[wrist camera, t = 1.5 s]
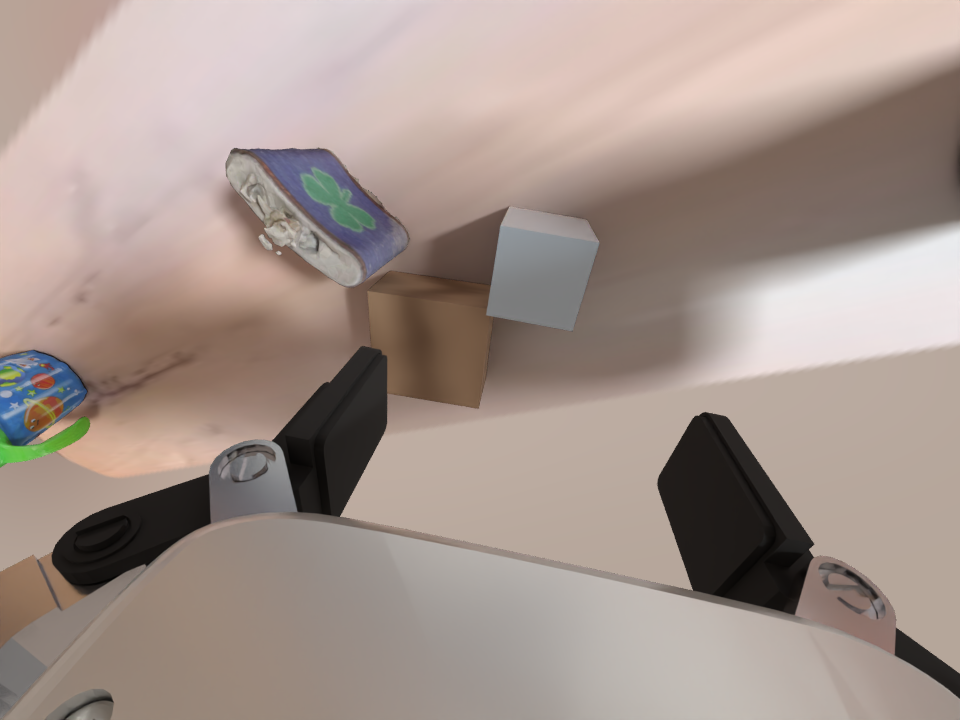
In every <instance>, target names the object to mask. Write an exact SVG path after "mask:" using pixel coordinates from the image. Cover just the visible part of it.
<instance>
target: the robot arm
mask: <svg viewBox="0 0 960 720" xmlns="http://www.w3.org/2000/svg"><path fill="white" fill-rule="evenodd" d="M386 425H387V356H386V355H382V351H381V350H380V349H375V348H370V347H365V346H362V347H360V348H359V350H358V351H357V352H356V353H355V354H354V355H353V357H352V358H351V359H350V360H349V361H348V362H347V364H346V365H345V366H344V367H343V368H342V369H341V371H340V372H339V373H338V374H337V375H336V376H335V377H334V379H333V380H332V381H331V382H330V383H329V382H326V383H324V384H323V385H321V386H320V388H319V389H318V390H317V391H316V392H315V393H314V394H313V395H312V397H311V398H310V399H309V400H308V401H307V402H306V403H305V404H304V406H303V407H302V408H301V409H300V410H299V411H298V412H297V413H296V415H295V416H294V417H293V418H292V419H291V420H290V421H289V422H288V424H287V425H286V426H285V427H284V428H283V429H282V430H281V431H280V433H279V434H278V435H277V436H276V437H275V438H274V439H273V441H272V442H271V441H268V440H250V441H244V442H241V443H239V444H236V445H233V446H231V447H230V448H228V449H226V450H224V451H223V452H222V453H221V454H220V455H218V456H217V457H216V458H215V460H214V461H213V463H212V464H211V466H210V471H209V474H208V475H205V476H202V477H199V478H196V479H193V480H190V481H187V482H184V483H181V484H178V485H175V486H172V487H169V488H166V489H163V490H160V491H157V492H154V493H151V494H148V495H145V496H142V497H139V498H136V499H133V500H130V501H127V502H124V503H121V504H118V505H115V506H112V507H109V508H106V509H104V510H101V511H99V512H97V513H94V514H92V515H90V516H89V517H87V518H85V519H83V520H82V521H80V522H78V523H77V524H76V525H74V526H73V527H72V528H71V529H70V530H69V531H67V532H66V533H65V534H64V535H63V536H62V538H61V539H60V540H59V541H58V542H57V544H56V545H55V548H54V550H53V552H51V553H49V554H47V555H45V556H44V557H42V558H40V559H37V558H36V557H35V556H34V555H32V556H30V557H28V558H26V559H24V560H22V561H20V562H18V563H17V564H14V565H12V566H10V567H8V568H6V569H5V570H3V571H1V572H0V720H960V674H959V673H958V672H957V671H955V670H954V669H952V668H951V667H950V666H948V665H947V664H946V663H944V662H943V661H942V660H940V659H938V658H937V657H936V656H935V655H933V654H932V653H930V652H929V651H928V650H926V649H925V648H924V647H922V646H921V645H919V644H918V643H917V642H915V641H914V640H912V639H911V638H910V637H908V636H907V635H905V634H904V633H903V632H902V631H900V630H899V629H897V628H896V616H895V612H894V609H893V607H892V605H891V604H890V602H889V600H888V599H887V598H886V596H885V595H884V594H883V593H882V591H881V590H880V589H879V588H878V587H877V586H876V585H875V584H874V583H873V582H872V581H871V580H869V579H868V578H867V577H866V576H865V575H863V574H862V573H860V572H859V571H858V570H856V569H855V568H853V567H852V566H850V565H848V564H846V563H844V562H842V561H840V560H838V559H835V558H832V557H828V556H817V557H813V555H812V554H811V552H810V551H809V549H810V548H811V547H812V546H813V545H814V543H813V541H812V540H811V539H810V537H809V536H808V534H807V533H806V531H805V530H804V528H803V527H802V525H801V524H800V522H799V521H798V520H797V518H796V517H795V515H794V514H793V512H792V511H791V509H790V508H789V506H788V505H787V503H786V502H785V501H784V499H783V498H782V496H781V495H780V493H779V492H778V490H777V489H776V488H775V486H774V484H773V483H772V481H771V480H770V479H769V477H768V476H767V474H766V473H765V471H764V470H763V469H762V467H761V465H760V464H759V462H758V461H757V459H756V458H755V457H754V455H753V454H752V452H751V451H750V449H749V448H748V447H747V445H746V444H745V442H744V441H743V439H742V438H741V436H740V435H739V433H738V432H737V430H736V429H735V427H734V426H733V424H732V423H731V422H730V420H729V419H728V418H727V417H726V416H721V415H717V414H712V413H707V412H704V413H702V414H700V415H699V416H695V417H694V418H693V419H692V421H691V422H690V424H689V426H688V427H687V429H686V431H685V433H684V434H683V436H682V438H681V440H680V441H679V443H678V445H677V446H676V448H675V450H674V451H673V453H672V455H671V456H670V458H669V460H668V462H667V463H666V465H665V467H664V468H663V470H662V472H661V474H660V475H659V478H658V490H659V493H660V496H661V499H662V501H663V504H664V507H665V510H666V513H667V516H668V519H669V521H670V525H671V528H672V531H673V533H674V536H675V539H676V542H677V545H678V548H679V551H680V554H681V557H682V560H683V562H684V565H685V568H686V571H687V574H688V577H689V580H690V583H691V585H692V589H693V591H692V590H687V589H683V588H678V587H674V586H669V585H664V584H660V583H656V582H651V581H647V580H642V579H637V578H633V577H628V576H624V575H619V574H615V573H610V572H605V571H601V570H596V569H592V568H586V567H582V566H577V565H573V564H568V563H563V562H559V561H554V560H549V559H545V558H540V557H536V556H531V555H526V554H521V553H517V552H512V551H507V550H503V549H498V548H493V547H488V546H483V545H479V544H474V543H469V542H465V541H460V540H455V539H450V538H445V537H440V536H436V535H431V534H426V533H421V532H416V531H411V530H407V529H402V528H396V527H392V526H386V525H380V524H376V523H370V522H366V521H360V520H355V519H350V518H344V517H340V515H341V513H342V512H343V510H344V508H345V506H346V504H347V502H348V500H349V498H350V496H351V495H352V493H353V491H354V489H355V487H356V485H357V483H358V481H359V479H360V478H361V476H362V474H363V472H364V470H365V468H366V466H367V464H368V462H369V460H370V458H371V457H372V455H373V453H374V451H375V449H376V447H377V445H378V443H379V442H380V440H381V438H382V436H383V434H384V432H385V429H386Z"/></svg>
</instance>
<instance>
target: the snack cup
mask: <svg viewBox="0 0 960 720" xmlns="http://www.w3.org/2000/svg"><path fill="white" fill-rule="evenodd" d="M86 393H87V390H86V389H85V388H84V386H83V384H82V382H81V380H80V379H79V377H78V376H77V375H76V374H75V373H74V372H73V371H72V370H71V369H70V368H69V367H68V365H67V364H65V363H63V362H60V361H58V360H57V359H55V358H53V357H51V356H48V355H46V354H42V353H38V352H36V351H34V350H31V351H28V352H23V353H18V354H14V355H10V356H6V357H4V358H0V467H2V466H3V465H5V464H6V463H12V462H22V461H27V460H32V459H36V458H39V457H42V456H45V455H48V454H50V453H53V452H55V451H57V450H60V449H62V448H64V447H66V446H68V445H70V444H72V443H74V442H76V441H77V440H79V439H80V438H81V437H83V436H84V435H85V434H86V433H87V431H88V430H89V427H90V421H89V419H88V418H87V417H82V418H80V419H79V420H78V421H77V422H76V423H75V424H73V425H72V426H70V427H68V428H66V429H65V430H63V431H61V432H60V433H58V434H56V435H55V436H53V437H51V438H49V439H48V440H46V441H45V442H43V443H41V444H36V445H27V444H28V443H29V442H31V441H32V440H34V439H35V438H36V437H38V436H39V435H40V434H41V433H43V432H44V431H46V430H47V429H48V428H49V427H51V426H52V425H54V424H55V423H56V422H58V421H59V420H60V419H62V418H63V417H64V416H66V415H67V414H68V413H70V412H71V411H72V410H73V409H74V408H75V407H77V406H78V405H79V404H80V403H81V402H82V401H83V400H84V397H85V394H86Z"/></svg>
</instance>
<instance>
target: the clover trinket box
mask: <svg viewBox="0 0 960 720" xmlns="http://www.w3.org/2000/svg"><path fill="white" fill-rule="evenodd" d="M226 176H227V178H228V179H229V181H230V184H231V186H232V187H233V188H234V189H235V191H236V192H237V193H238V194H239V195H240V196H241V197H242V198H243V199H244V200H245V201H246V203H247V204H248V205H249V207H250V208H251V209H252V211H253V212H254V213H255V214H256V215H257V216H258V218H259V219H260V220H261V221H262V222H263V223H264V224H265V226H266V228H265V227H264V230H265V232H266V233H267V235H268V237H269V238H271V239H272V240H273V242H274V244H276V245H278V246H284V245H287V246H288V247H289V248H290V249H291V250H293V251H294V252H295V253H296V254H298V255H299V256H300V257H302V258H303V259H304V260H305V261H306V262H308V263H309V264H311V265H312V266H314V267H315V268H316V269H318V270H319V271H320V272H322V273H323V274H324V275H326V276H327V277H328V278H330V279H332V280H334V281H335V282H337V283H338V284H340V285H342V286H345V287H347V288H353V287H356V286H358V285H360V284H361V283H363V282H364V281H365V280H366V279H367V278H369V277H370V276H371V275H372V274H374V273H375V272H376V271H377V270H379V269H380V268H381V267H382V266H384V265H385V264H386V263H388V262H389V261H390V260H392V259H393V258H394V257H396V256H397V255H398V254H400V253H401V252H403V251H404V250H405V249H406V247H407V245H408V242H409V236H408V233H407V231H406V230H405V228H404V226H403V225H402V224H401V222H400V221H399V219H397V217H395V218H394V217H393V216H391V215H390V214H389V212H388V211H387V210H385V208H384V207H383V206H382V203H381V202H380V201H379V200H378V199H377V196H374V195H373V193H372V192H369V190H368V191H367V190H365V189H364V188H362V187H361V186H360V185H359V183H358V180H359V179H356V178H354V177H353V176H351V175H350V174H349V173H348V171H347V169H346V165H345V166H344V165H343V164H342V162H340V160H339V158H337V157H336V156H335V154H334V153H333V152H332V151H330V150H327V149H320V148H318V149H303V150H300V149H294V148H291V149H282V150H279V149H278V150H270V149H259V148H258V149H250V150H247V149H238V148H234V149H233V150H231V152H230V154H229V157H228V159H227V161H226ZM259 240H260V241H261V243H262V245H263V246H264V247H265V248H266V249H267V250H272V244H271V243H270V242H269V241H268V240H266V239H265V236H264V234H261V235H260V236H259ZM275 253H276V254H277V255H281V252H280V251H277V252H275Z"/></svg>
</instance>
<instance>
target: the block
mask: <svg viewBox="0 0 960 720" xmlns="http://www.w3.org/2000/svg"><path fill="white" fill-rule="evenodd" d="M490 288H491V285H485V284H478V283H472V282H465V281H458V280H451V279H444V278H437V277H430V276H423V275H416V274H409V273H402V272H395V271H389V272H388V273H387V274H386V275H385V276H384V277H383V278H381V279H380V280H379V281H378V282H377V283H376V284H375V285H373V286H372V287H371V288H370V289H369V290H368V291H367V296H368V310H369V325H370V339H371V348H375V349H380V350H381V351H382V355H386V356H387V393H389V394H394V395H400V396H406V397H412V398H418V399H424V400H430V401H436V402H442V403H448V404H454V405H460V406H466V407H472V408H478V409H479V405H480V400H481V396H482V392H483V387H484V383H485V379H486V372H487V364H488V357H489V349H490V341H491V333H492V325H493V316H488V315H486V313H487V307H488V300H489V294H490Z"/></svg>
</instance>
